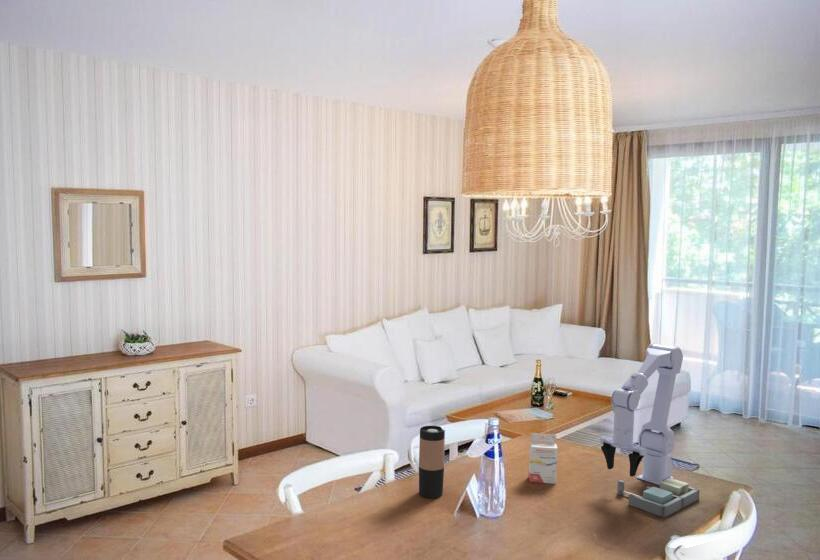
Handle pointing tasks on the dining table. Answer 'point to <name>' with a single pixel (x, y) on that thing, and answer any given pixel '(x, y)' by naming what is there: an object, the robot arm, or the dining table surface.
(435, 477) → the travel mug
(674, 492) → the sage block
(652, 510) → the lane rack
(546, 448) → the ink cartridge box
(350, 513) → the dining table surface
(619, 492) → the teal block with cord
